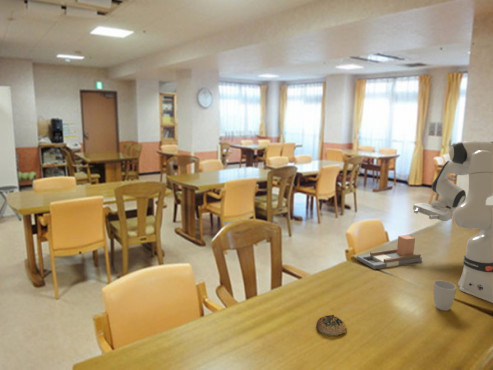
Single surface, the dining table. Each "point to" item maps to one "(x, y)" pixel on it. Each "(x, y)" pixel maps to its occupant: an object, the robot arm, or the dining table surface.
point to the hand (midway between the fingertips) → (422, 214)
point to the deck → (387, 258)
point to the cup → (444, 294)
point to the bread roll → (331, 325)
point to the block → (405, 245)
